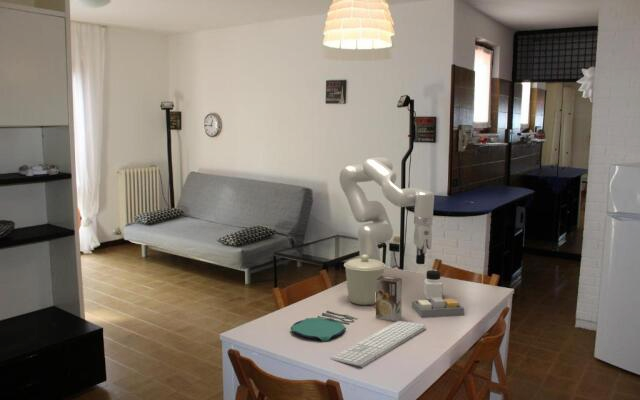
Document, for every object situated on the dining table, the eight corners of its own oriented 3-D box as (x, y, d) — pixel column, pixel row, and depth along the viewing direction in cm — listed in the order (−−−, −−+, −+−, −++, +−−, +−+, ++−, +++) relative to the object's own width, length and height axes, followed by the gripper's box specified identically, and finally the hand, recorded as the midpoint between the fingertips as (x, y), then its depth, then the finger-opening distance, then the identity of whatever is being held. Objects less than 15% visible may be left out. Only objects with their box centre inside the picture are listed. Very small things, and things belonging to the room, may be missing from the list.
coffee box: (402, 316, 224) (402, 278, 222) (396, 321, 219) (397, 282, 216) (380, 313, 229) (381, 275, 226) (374, 318, 223) (375, 279, 221)
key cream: (422, 311, 227) (422, 304, 226) (417, 307, 232) (417, 300, 232) (431, 311, 227) (431, 304, 227) (426, 306, 233) (427, 299, 232)
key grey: (435, 308, 227) (435, 301, 227) (430, 304, 233) (430, 297, 233) (444, 308, 228) (444, 301, 228) (439, 303, 234) (439, 296, 233)
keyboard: (397, 323, 219) (398, 317, 219) (426, 330, 211) (426, 324, 211) (328, 360, 185) (329, 353, 185) (359, 370, 177) (359, 363, 177)
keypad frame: (421, 317, 224) (421, 310, 223) (411, 307, 235) (412, 300, 235) (463, 315, 226) (464, 308, 226) (452, 305, 238) (452, 298, 238)
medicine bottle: (442, 299, 247) (443, 273, 245) (426, 299, 247) (426, 272, 245) (439, 294, 254) (440, 268, 252) (423, 294, 254) (424, 268, 252)
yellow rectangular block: (448, 310, 228) (448, 303, 228) (443, 306, 234) (443, 299, 234) (457, 309, 229) (457, 302, 229) (452, 305, 235) (452, 298, 234)
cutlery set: (281, 334, 206) (281, 328, 206) (323, 312, 231) (324, 307, 231) (327, 346, 195) (327, 340, 195) (366, 322, 221) (366, 316, 220)
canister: (373, 293, 255) (374, 248, 252) (392, 305, 238) (393, 257, 235) (337, 297, 248) (337, 251, 246) (354, 310, 232) (354, 261, 229)
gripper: (438, 225, 223) (434, 269, 226) (426, 217, 238) (423, 258, 241) (420, 224, 222) (416, 269, 225) (409, 216, 237) (406, 258, 240)
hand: (420, 263), depth 233 cm, fingers closed
